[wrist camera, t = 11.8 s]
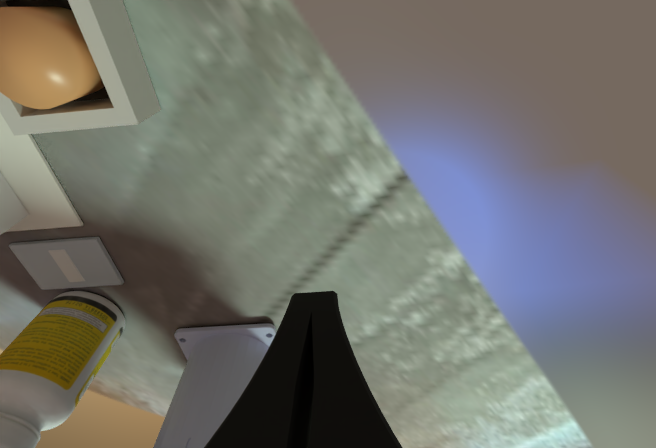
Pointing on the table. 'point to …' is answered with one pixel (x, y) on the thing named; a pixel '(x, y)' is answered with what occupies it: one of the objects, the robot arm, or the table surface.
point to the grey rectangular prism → (9, 206)
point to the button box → (114, 68)
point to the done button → (44, 57)
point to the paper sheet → (34, 183)
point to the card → (68, 263)
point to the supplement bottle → (54, 364)
